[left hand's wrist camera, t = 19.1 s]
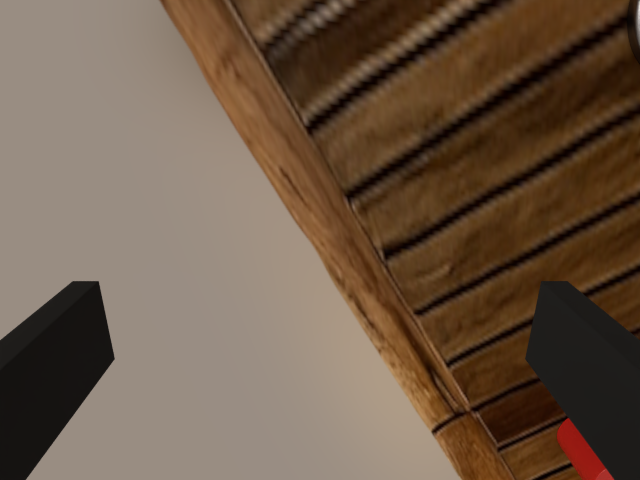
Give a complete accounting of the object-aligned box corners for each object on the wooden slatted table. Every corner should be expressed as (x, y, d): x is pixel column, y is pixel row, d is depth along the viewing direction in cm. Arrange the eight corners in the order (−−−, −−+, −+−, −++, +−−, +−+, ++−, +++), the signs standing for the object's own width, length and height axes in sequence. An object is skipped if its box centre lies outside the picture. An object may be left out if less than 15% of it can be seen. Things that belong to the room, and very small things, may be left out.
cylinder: (565, 460, 60) (600, 515, 52) (550, 422, 58) (584, 474, 50) (619, 441, 59) (664, 494, 51) (606, 402, 56) (651, 452, 49)
